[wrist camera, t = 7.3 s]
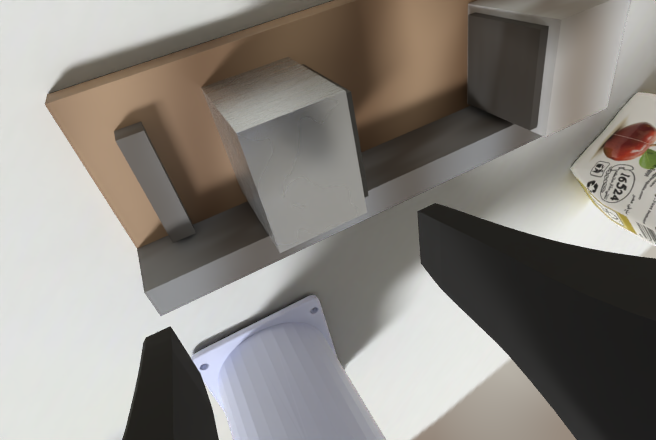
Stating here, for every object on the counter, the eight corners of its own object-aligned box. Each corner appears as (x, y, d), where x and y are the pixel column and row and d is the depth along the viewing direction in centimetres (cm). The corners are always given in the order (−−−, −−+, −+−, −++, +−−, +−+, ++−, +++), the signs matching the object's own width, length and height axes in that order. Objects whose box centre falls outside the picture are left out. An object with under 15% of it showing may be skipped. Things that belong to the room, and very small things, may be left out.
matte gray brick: (321, 157, 20) (376, 208, 16) (241, 190, 19) (279, 253, 15) (296, 53, 17) (357, 86, 13) (200, 87, 16) (236, 133, 12)
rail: (562, -75, 21) (700, -79, 16) (543, 84, 26) (645, 117, 21) (47, 94, 15) (30, 164, 11) (148, 256, 20) (168, 353, 15)
